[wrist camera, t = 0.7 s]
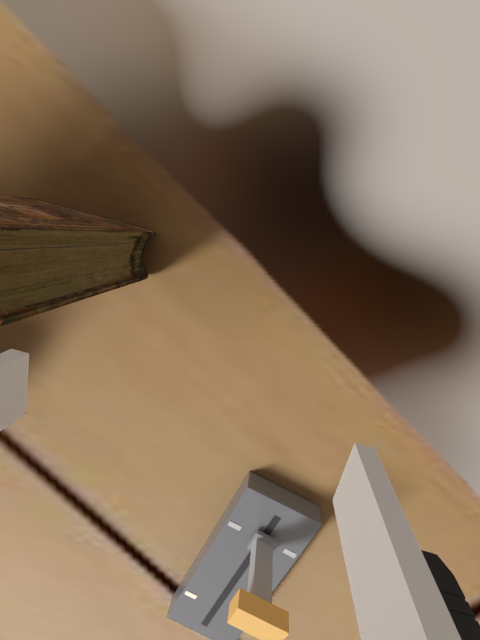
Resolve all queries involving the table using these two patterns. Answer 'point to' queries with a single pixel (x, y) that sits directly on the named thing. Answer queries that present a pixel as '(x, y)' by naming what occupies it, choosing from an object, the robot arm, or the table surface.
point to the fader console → (242, 554)
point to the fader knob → (259, 595)
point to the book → (62, 256)
